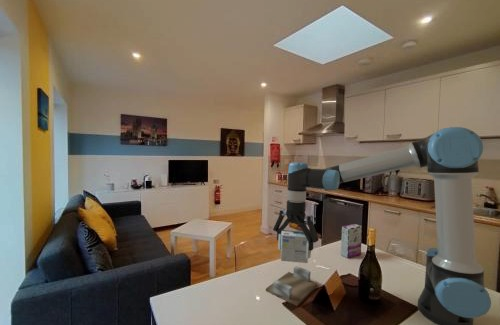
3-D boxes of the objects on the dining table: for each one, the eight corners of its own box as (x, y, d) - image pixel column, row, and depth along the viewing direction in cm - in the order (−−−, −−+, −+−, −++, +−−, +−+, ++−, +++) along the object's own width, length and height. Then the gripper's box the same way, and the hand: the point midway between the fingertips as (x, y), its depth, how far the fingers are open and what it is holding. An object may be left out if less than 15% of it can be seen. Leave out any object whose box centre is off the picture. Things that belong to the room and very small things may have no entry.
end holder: (317, 285, 99) (318, 274, 99) (297, 306, 85) (297, 292, 85) (288, 273, 108) (289, 263, 108) (265, 290, 94) (266, 278, 94)
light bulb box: (305, 256, 99) (307, 231, 99) (308, 263, 92) (309, 236, 92) (280, 254, 100) (281, 229, 100) (280, 261, 93) (281, 234, 93)
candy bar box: (353, 251, 136) (354, 223, 135) (361, 255, 131) (362, 226, 131) (339, 255, 130) (341, 225, 130) (347, 258, 126) (349, 228, 125)
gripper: (329, 204, 90) (326, 259, 91) (276, 195, 106) (274, 242, 107) (321, 207, 84) (318, 266, 85) (266, 197, 100) (264, 247, 101)
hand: (293, 253), depth 96 cm, fingers closed on light bulb box, 12 cm apart
